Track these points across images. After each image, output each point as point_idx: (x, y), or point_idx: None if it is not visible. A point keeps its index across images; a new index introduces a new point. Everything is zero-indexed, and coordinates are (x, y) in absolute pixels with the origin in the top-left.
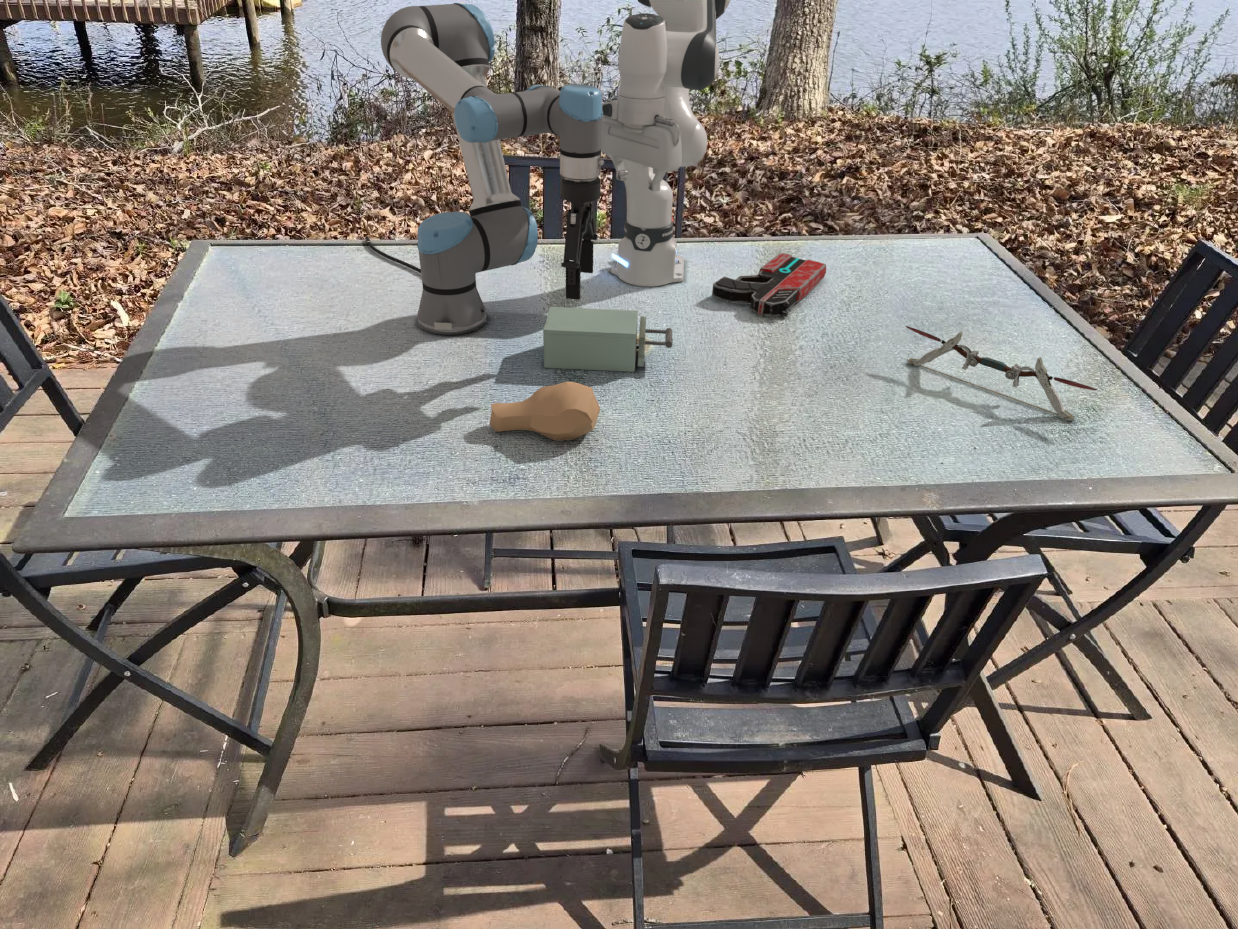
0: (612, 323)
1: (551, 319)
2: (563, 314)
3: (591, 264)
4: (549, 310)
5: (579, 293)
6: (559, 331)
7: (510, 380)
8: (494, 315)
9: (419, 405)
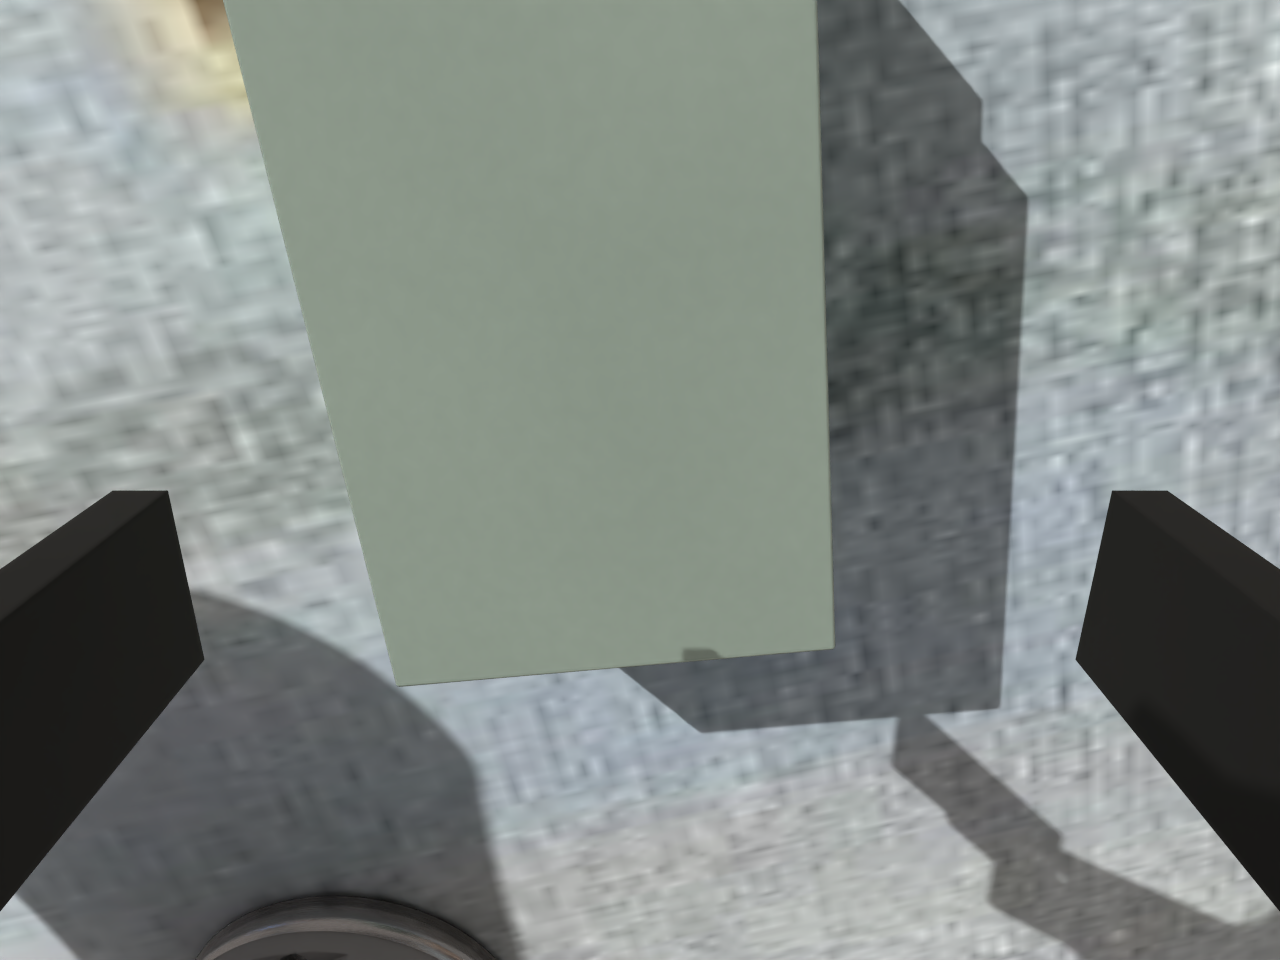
0: (594, 87)
1: (634, 630)
2: (514, 563)
3: (95, 568)
4: (468, 675)
5: (1223, 532)
6: (830, 530)
7: (958, 644)
8: (213, 877)
9: (1219, 931)
